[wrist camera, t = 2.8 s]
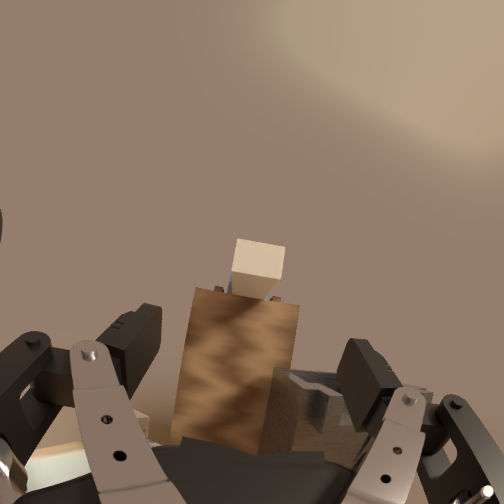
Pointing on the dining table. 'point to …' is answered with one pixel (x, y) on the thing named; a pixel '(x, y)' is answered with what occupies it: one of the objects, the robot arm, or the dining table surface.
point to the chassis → (311, 416)
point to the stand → (231, 367)
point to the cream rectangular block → (255, 269)
